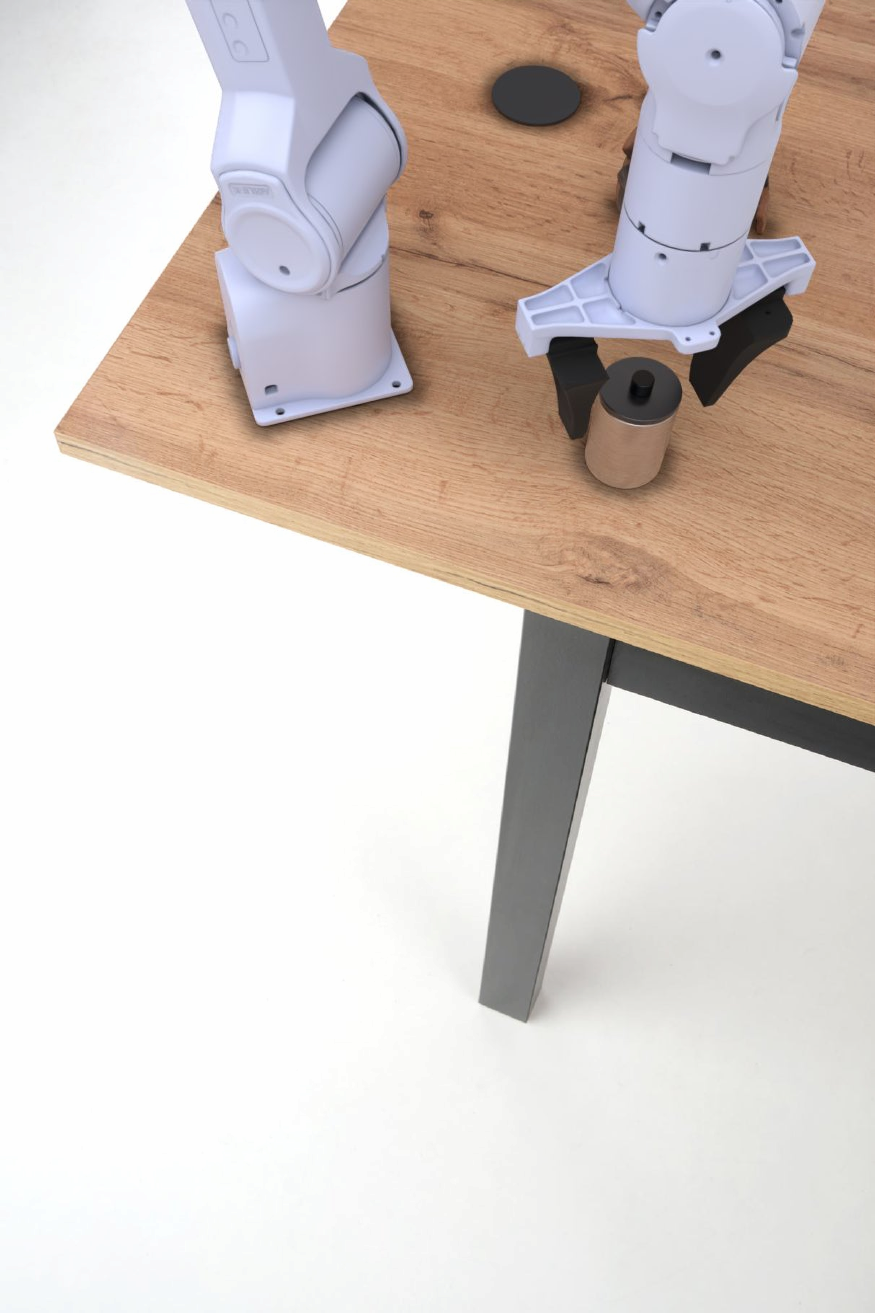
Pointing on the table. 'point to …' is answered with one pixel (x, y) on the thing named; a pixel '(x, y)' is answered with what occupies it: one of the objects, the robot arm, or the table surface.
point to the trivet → (536, 95)
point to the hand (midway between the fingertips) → (636, 408)
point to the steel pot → (632, 422)
